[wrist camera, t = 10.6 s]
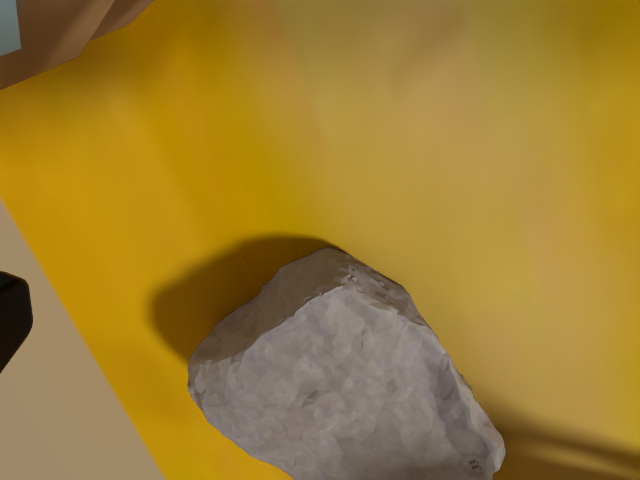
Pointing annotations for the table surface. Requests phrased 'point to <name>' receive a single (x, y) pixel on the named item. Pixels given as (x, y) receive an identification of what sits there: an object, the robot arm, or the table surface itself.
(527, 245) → the table surface
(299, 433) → the stone block
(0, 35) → the slate block
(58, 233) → the table surface
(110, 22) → the tower base
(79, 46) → the tower mid
